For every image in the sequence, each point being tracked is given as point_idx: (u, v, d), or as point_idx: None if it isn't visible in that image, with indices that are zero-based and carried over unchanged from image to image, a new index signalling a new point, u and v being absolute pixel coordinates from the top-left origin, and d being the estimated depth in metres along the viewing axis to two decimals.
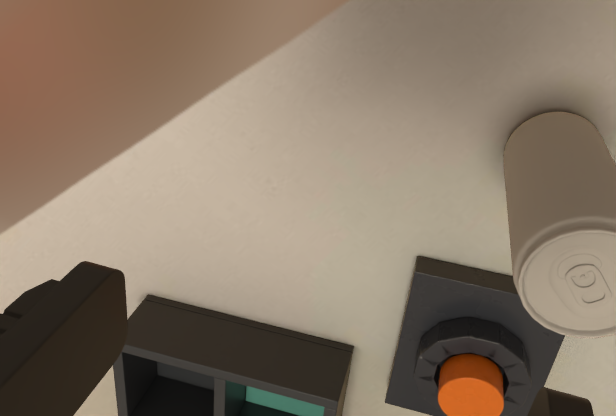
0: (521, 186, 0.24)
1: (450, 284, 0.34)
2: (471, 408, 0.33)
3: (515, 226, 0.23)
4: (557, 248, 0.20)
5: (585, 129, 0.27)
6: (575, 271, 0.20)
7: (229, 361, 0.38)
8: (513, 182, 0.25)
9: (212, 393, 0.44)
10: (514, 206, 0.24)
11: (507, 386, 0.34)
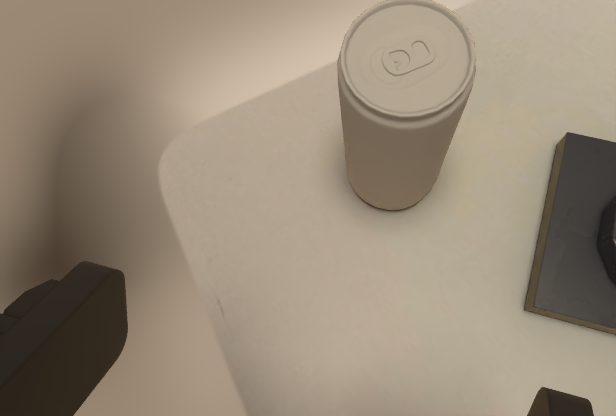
0: (363, 158, 0.24)
1: (549, 265, 0.27)
2: None
3: (378, 145, 0.22)
4: (363, 84, 0.20)
5: None
6: (392, 68, 0.20)
7: None
8: (373, 173, 0.25)
9: None
10: (376, 158, 0.23)
11: None
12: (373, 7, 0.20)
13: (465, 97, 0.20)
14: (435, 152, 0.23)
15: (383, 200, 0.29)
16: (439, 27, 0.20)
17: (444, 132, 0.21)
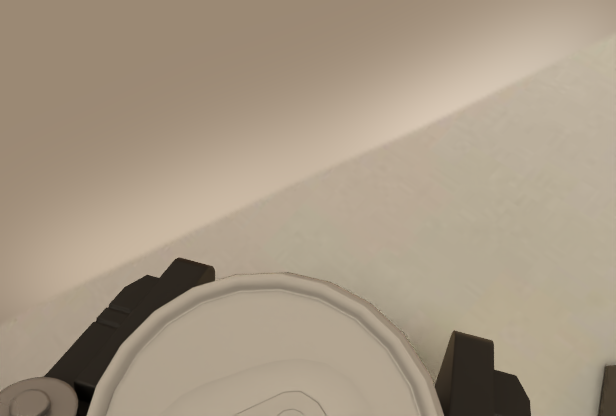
0: None
1: None
2: None
3: None
4: None
5: None
6: None
7: None
8: None
9: None
10: None
11: None
12: (177, 302, 0.08)
13: None
14: None
15: None
16: (349, 367, 0.07)
17: None
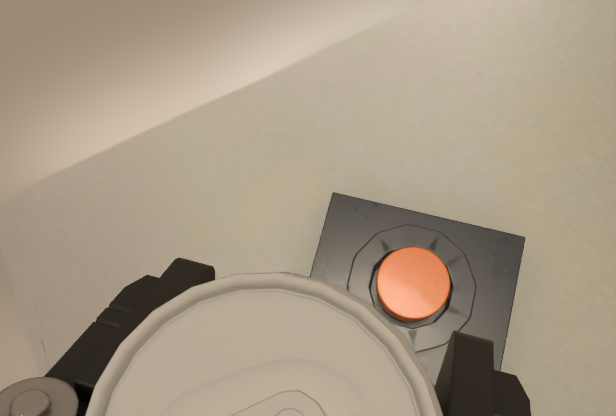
0: None
1: None
2: (422, 281, 0.29)
3: None
4: None
5: None
6: None
7: None
8: None
9: None
10: None
11: None
12: (176, 301, 0.08)
13: None
14: None
15: None
16: (347, 366, 0.07)
17: None
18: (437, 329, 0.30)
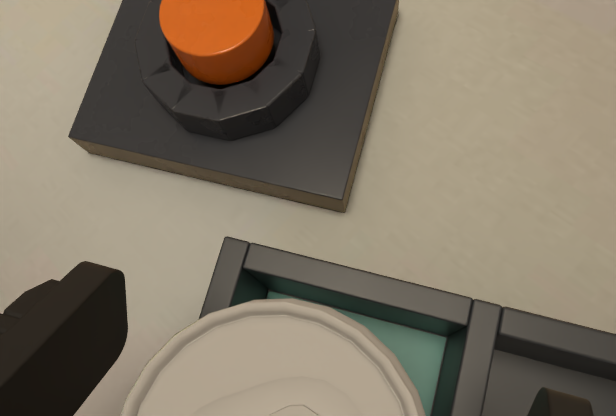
0: None
1: (95, 90, 0.23)
2: (224, 5, 0.19)
3: None
4: None
5: None
6: None
7: None
8: None
9: None
10: None
11: None
12: (195, 326, 0.09)
13: None
14: None
15: None
16: (345, 384, 0.08)
17: None
18: (255, 88, 0.20)
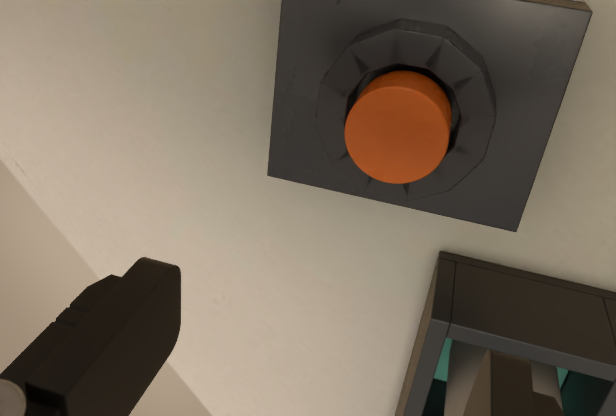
0: None
1: (278, 134, 0.25)
2: (408, 135, 0.20)
3: None
4: None
5: (453, 363, 0.26)
6: None
7: None
8: None
9: None
10: None
11: (407, 64, 0.21)
12: None
13: None
14: None
15: None
16: None
17: None
18: (438, 174, 0.22)
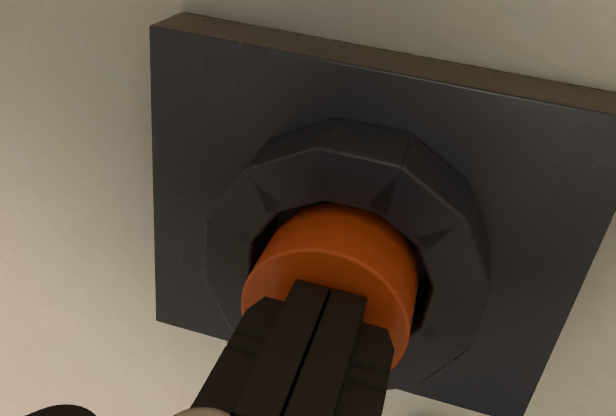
0: None
1: (166, 269, 0.17)
2: None
3: None
4: None
5: None
6: None
7: None
8: None
9: None
10: None
11: (342, 202, 0.12)
12: None
13: None
14: None
15: None
16: None
17: None
18: None
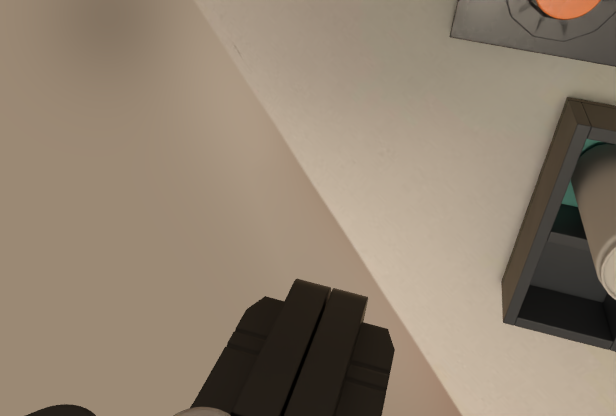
0: None
1: (463, 3, 0.36)
2: None
3: None
4: None
5: (581, 172, 0.37)
6: None
7: (536, 222, 0.38)
8: None
9: None
10: None
11: None
12: None
13: None
14: None
15: None
16: None
17: None
18: (588, 18, 0.33)
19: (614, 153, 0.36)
